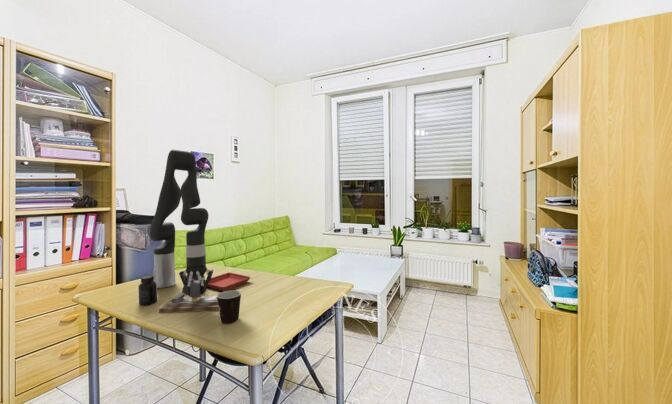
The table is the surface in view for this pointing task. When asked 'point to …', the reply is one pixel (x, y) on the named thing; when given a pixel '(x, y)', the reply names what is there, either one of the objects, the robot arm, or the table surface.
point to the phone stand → (185, 287)
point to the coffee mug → (229, 306)
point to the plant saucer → (227, 281)
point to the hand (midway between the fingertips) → (197, 293)
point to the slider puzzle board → (190, 304)
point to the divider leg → (195, 290)
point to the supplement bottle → (147, 291)
